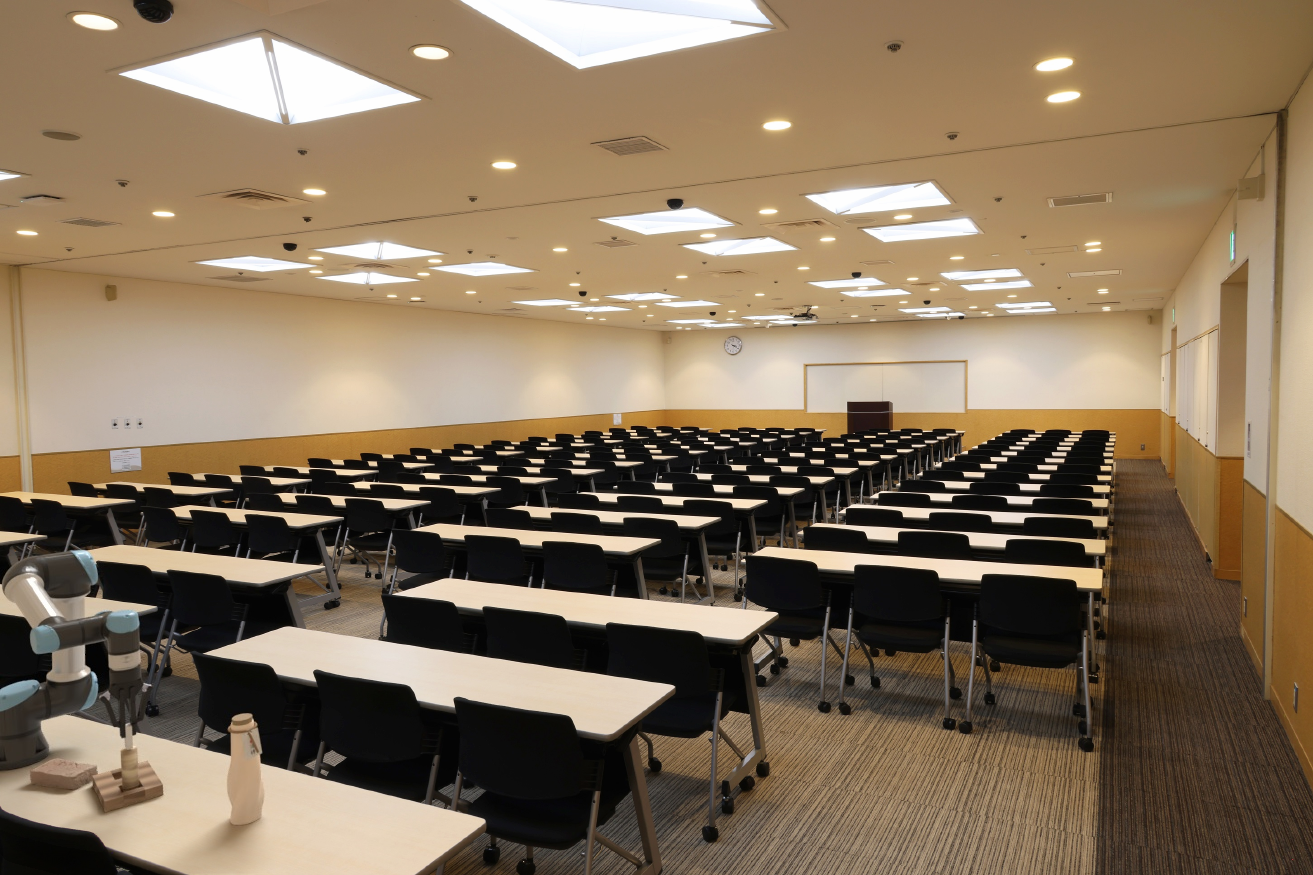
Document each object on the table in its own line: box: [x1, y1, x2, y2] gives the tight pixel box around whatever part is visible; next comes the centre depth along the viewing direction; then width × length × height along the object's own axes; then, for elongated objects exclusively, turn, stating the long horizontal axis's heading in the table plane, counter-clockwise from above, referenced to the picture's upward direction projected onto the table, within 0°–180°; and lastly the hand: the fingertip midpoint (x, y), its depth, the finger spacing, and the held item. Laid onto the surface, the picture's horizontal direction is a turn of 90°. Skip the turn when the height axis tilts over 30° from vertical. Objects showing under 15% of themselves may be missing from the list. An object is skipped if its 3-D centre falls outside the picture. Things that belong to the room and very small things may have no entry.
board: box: [92, 760, 164, 813], centre depth 237 cm, size 20×14×3 cm
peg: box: [120, 745, 139, 792], centre depth 233 cm, size 4×4×14 cm
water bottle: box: [226, 713, 265, 826], centre depth 221 cm, size 10×9×28 cm
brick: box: [29, 757, 99, 790], centre depth 243 cm, size 16×8×5 cm, turn 77°
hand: (128, 747), depth 232 cm, fingers closed
